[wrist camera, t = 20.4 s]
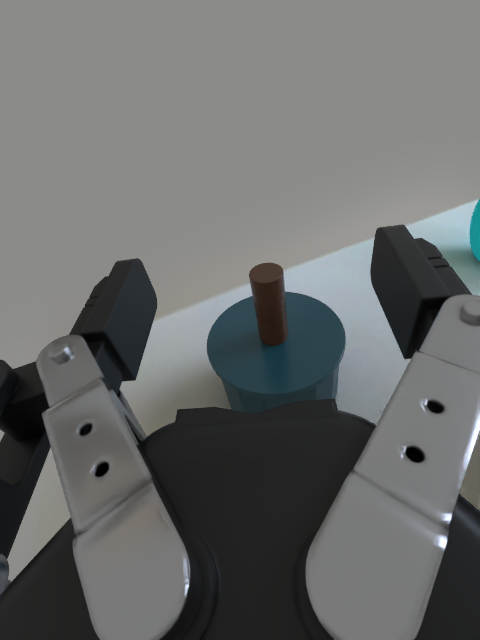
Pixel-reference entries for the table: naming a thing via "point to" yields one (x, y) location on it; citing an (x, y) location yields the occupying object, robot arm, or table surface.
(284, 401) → the pot
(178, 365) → the table surface
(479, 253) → the donuts
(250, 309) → the lid
